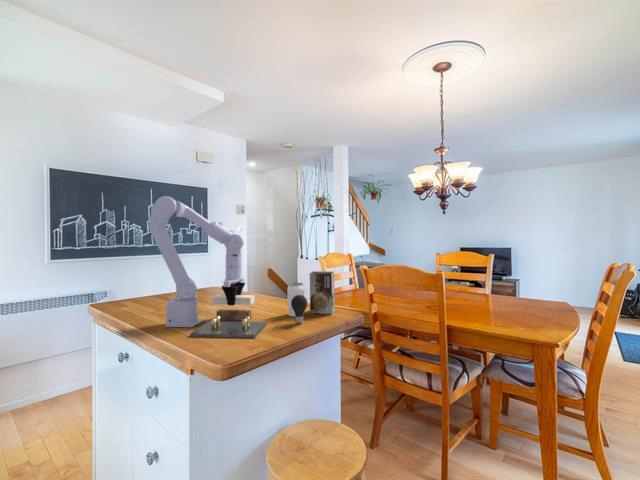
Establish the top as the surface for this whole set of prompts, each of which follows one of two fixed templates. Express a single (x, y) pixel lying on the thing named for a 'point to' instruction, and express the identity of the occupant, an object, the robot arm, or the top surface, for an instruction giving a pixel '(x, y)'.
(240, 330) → the plate
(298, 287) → the can
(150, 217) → the robot arm
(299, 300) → the light bulb
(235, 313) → the brown rectangular block
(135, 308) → the top surface
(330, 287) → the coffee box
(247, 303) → the board
